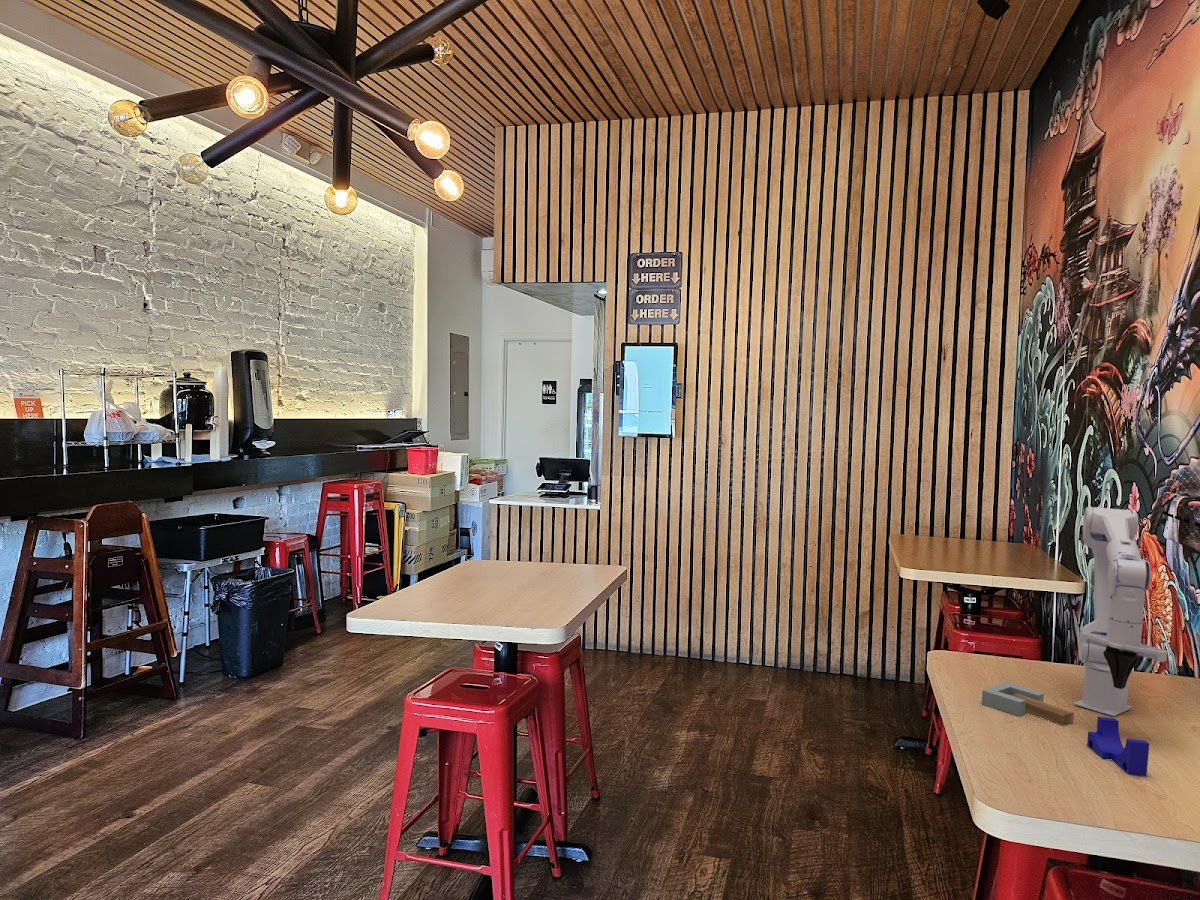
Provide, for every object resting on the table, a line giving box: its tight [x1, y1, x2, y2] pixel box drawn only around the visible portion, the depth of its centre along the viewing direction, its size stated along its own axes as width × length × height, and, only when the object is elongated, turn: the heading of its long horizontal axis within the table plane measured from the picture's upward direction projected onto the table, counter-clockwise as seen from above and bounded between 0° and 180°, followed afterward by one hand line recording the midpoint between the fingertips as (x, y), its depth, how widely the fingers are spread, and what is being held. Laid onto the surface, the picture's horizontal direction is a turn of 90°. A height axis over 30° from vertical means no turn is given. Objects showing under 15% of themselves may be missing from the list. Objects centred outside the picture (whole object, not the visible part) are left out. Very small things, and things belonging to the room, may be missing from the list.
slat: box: [1011, 693, 1075, 727], centre depth 170 cm, size 4×12×2 cm, turn 32°
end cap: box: [981, 682, 1045, 717], centre depth 175 cm, size 11×8×3 cm
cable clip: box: [1086, 716, 1150, 777], centre depth 148 cm, size 12×4×6 cm, turn 173°
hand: (1119, 687), depth 161 cm, fingers closed
